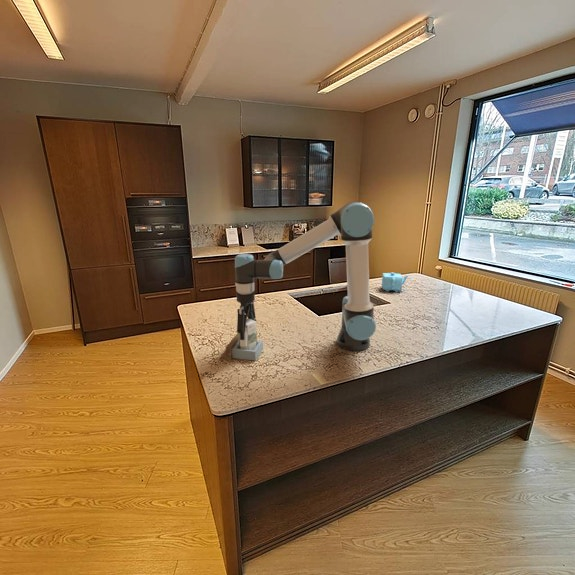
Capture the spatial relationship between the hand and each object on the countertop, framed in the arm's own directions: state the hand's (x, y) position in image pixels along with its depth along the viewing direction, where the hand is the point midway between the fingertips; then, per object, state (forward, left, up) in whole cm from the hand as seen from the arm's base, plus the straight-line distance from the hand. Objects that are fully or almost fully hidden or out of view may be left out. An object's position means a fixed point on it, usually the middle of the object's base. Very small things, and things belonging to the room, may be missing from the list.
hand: (247, 340), depth 140 cm
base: (+8, 0, -6) cm, 10 cm away
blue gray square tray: (0, 0, -6) cm, 6 cm away
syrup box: (0, 0, -6) cm, 6 cm away
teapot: (-72, -110, -7) cm, 132 cm away
